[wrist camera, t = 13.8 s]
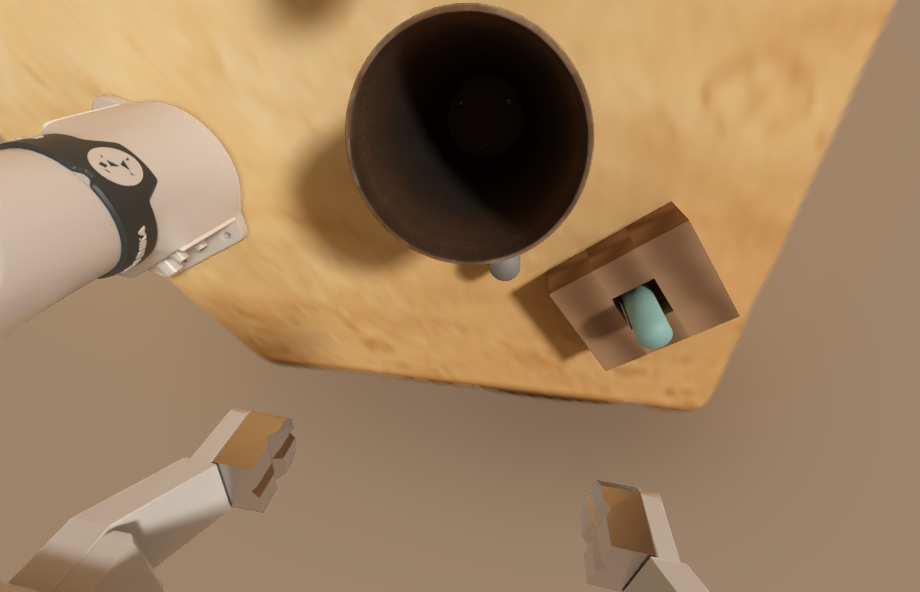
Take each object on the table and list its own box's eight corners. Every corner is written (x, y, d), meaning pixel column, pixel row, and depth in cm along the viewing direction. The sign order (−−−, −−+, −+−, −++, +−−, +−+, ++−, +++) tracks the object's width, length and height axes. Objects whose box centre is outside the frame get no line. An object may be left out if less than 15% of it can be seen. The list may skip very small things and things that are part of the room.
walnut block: (599, 343, 49) (605, 371, 45) (546, 271, 45) (548, 294, 41) (719, 290, 43) (739, 316, 39) (671, 201, 39) (689, 220, 35)
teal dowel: (623, 296, 45) (645, 353, 37) (610, 277, 44) (630, 331, 36) (649, 284, 44) (678, 340, 36) (637, 263, 43) (663, 316, 35)
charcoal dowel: (503, 263, 45) (500, 285, 41) (487, 243, 44) (483, 264, 40) (525, 250, 44) (525, 271, 40) (510, 229, 43) (508, 248, 39)
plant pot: (585, 25, 33) (626, 11, 20) (553, 201, 41) (566, 277, 27) (408, 15, 34) (331, -6, 21) (410, 187, 42) (355, 253, 29)
